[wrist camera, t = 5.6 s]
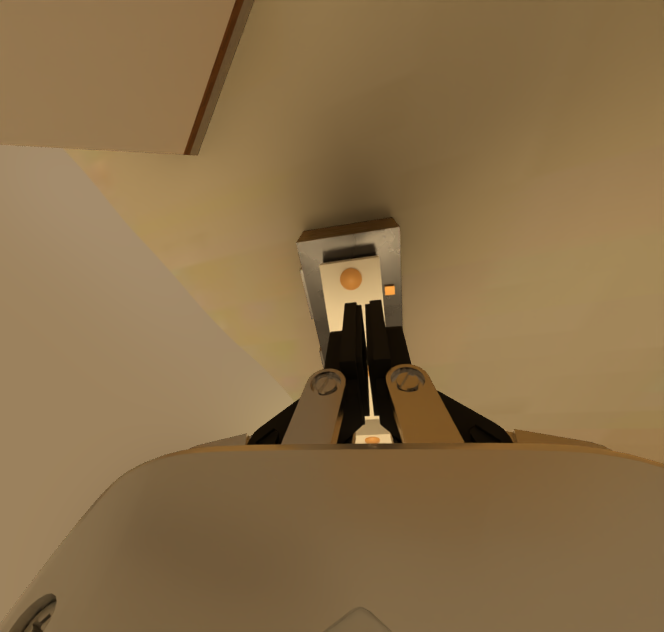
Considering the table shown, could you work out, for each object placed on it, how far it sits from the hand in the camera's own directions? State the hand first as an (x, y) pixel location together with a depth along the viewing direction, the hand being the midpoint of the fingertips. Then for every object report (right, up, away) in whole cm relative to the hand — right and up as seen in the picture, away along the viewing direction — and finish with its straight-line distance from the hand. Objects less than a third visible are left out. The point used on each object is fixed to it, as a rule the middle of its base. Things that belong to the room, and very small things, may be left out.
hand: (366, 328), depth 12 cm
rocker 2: (+3, -14, +17) cm, 22 cm away
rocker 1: (0, +1, +8) cm, 8 cm away
